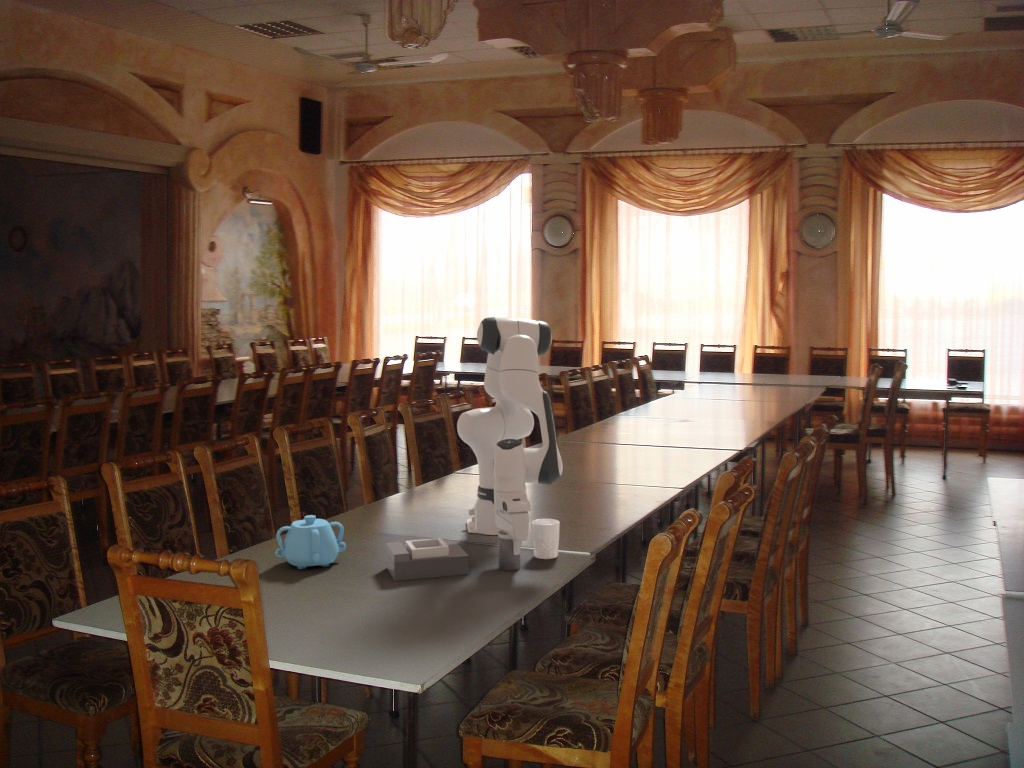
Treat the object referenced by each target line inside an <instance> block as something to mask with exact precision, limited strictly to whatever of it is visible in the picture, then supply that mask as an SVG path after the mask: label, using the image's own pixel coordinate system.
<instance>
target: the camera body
mask: <svg viewBox="0 0 1024 768" xmlns="http://www.w3.org/2000/svg"><path fill="white" fill-rule="evenodd" d="M404 543H405V546H404ZM404 543H402V542H401V541H393V542H386V543H385V548H386V549H385V552H386V553H385V554H386V569H387V571H388V572H389V574H390V576H391V577H392V579H393V580H394V582H398V581H408V580H418V579H429V578H431V579H432V578H438V577H439V578H441V577H451V576H452V577H453V576H462V575H463V576H464V575H469V574H470V565H469V564H470V560H469V559H470V558H469V557H470V555H469V554H468V553H467V552H466V551H465V550H464V549H463V548H462V547H461V546H460V545H459V543H454V544H447V543H446V542H445V541H444V540H443V539H442V537H437V538H425V539H412V540H405V542H404Z"/></svg>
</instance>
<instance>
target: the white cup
mask: <svg viewBox="0 0 1024 768" xmlns="http://www.w3.org/2000/svg"><path fill="white" fill-rule="evenodd" d="M560 522H561V521H559V520H558V519H554V518H537V519H534V520H531V535H532V536H531V537H532V547H533V557H534V558H536V559H539V560H551V559H556V558H558V556H559V546H560V524H561V523H560Z"/></svg>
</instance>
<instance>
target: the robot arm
mask: <svg viewBox="0 0 1024 768" xmlns="http://www.w3.org/2000/svg"><path fill="white" fill-rule="evenodd" d="M476 339H477V343H478V347H479V348H480V349H481V351H483V352H485V353H488V355H487V361H486V365H485V372H484V378H483V379H484V380H483V388H484V390H485V392H486V393H487V395H489V396H490V397H492V398H493V399H495V405H494V406H493V407H480V408H479V407H478V408H474V409H471V410H467V411H465V412H462V413H461V414H460V415H459V417H458V420H457V423H456V429H457V435H458V437H459V438H460V439H461V440H462V441H463V442H464V443H465V444H467V445H468V446H469V447H470V449H471V450H472V452H473V454H474V455H475V457H476V461H477V467H478V482H479V483H478V486H477V491H476V492H477V499H476V500H475V502H474V504H473V506H472V507H471V508H470V507H469V508H468V516H471V518H468V519H466V522H465V523H466V528H467V532H468V533H470V534H481V535H489V536H496V535H497V536H498V531H500V530H502V531H504V532H505V533H506V534H507V535H508V536H509V537H511V538H512V539H513V542H514V543H513V547H512V550H513V551H512V553H513V554H514V555H519V554H521V548H522V547H521V546H522V543H523V541H527V540H528V538H529V531H530V515H529V512H531V511H532V510H531V507H532V506H531V503H530V501H529V499H528V494H527V485H526V484H540V485H548V486H549V485H550V486H551V485H553V484H554V483H556V482H557V481H558V480H559V479H560V478H561V477H562V475H563V474H562V473H563V468H564V467H563V466H564V465H563V461H562V455H561V453H560V448H559V443H558V437H557V428H556V423H555V422H556V421H555V417H554V416H555V415H554V410H553V405H552V400H551V397H550V394H549V393H548V391H545V390H544V388H542V385H541V382H540V378H539V376H540V375H539V373H540V370H539V369H540V367H539V356H540V357H541V356H543V355H545V354H546V353H548V352H549V351H550V348H551V345H552V341H553V335H552V329H551V326H550V325H549V324H548V322H546V321H542V320H538V319H536V320H534V319H529V318H523V317H495V316H492V317H486V318H483V319H482V320H481V321H480V323H479V326H478V328H477V331H476ZM533 413H534V414H535V415H536V416H537V418H538V421H539V426H540V433H541V441H542V446H541V447H537V448H532V447H531V448H530V447H529V448H528V447H524V443H523V441H521V439H524V438H526V437H529V436H530V435H531V434H532V431H533V430H534V426H535V419H534V415H533Z"/></svg>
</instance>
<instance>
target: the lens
mask: <svg viewBox="0 0 1024 768" xmlns="http://www.w3.org/2000/svg"><path fill="white" fill-rule="evenodd" d="M497 539H498V540H497V544H498V545H497V548H498V551H497V553H498V555H497V557H498V569H499V570H501V571H505V572H513V571H518V570H520V569H521V568H522V567H521V559H522V558H521V553H520V554H519V555H514V554H513V553H512V551H513V550H512V547H513V543H514V542H513V539H512V538H511V537H509V536H508V535H507V534H506V533H505V532H504V531H502V530H500V531H498V535H497Z"/></svg>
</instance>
